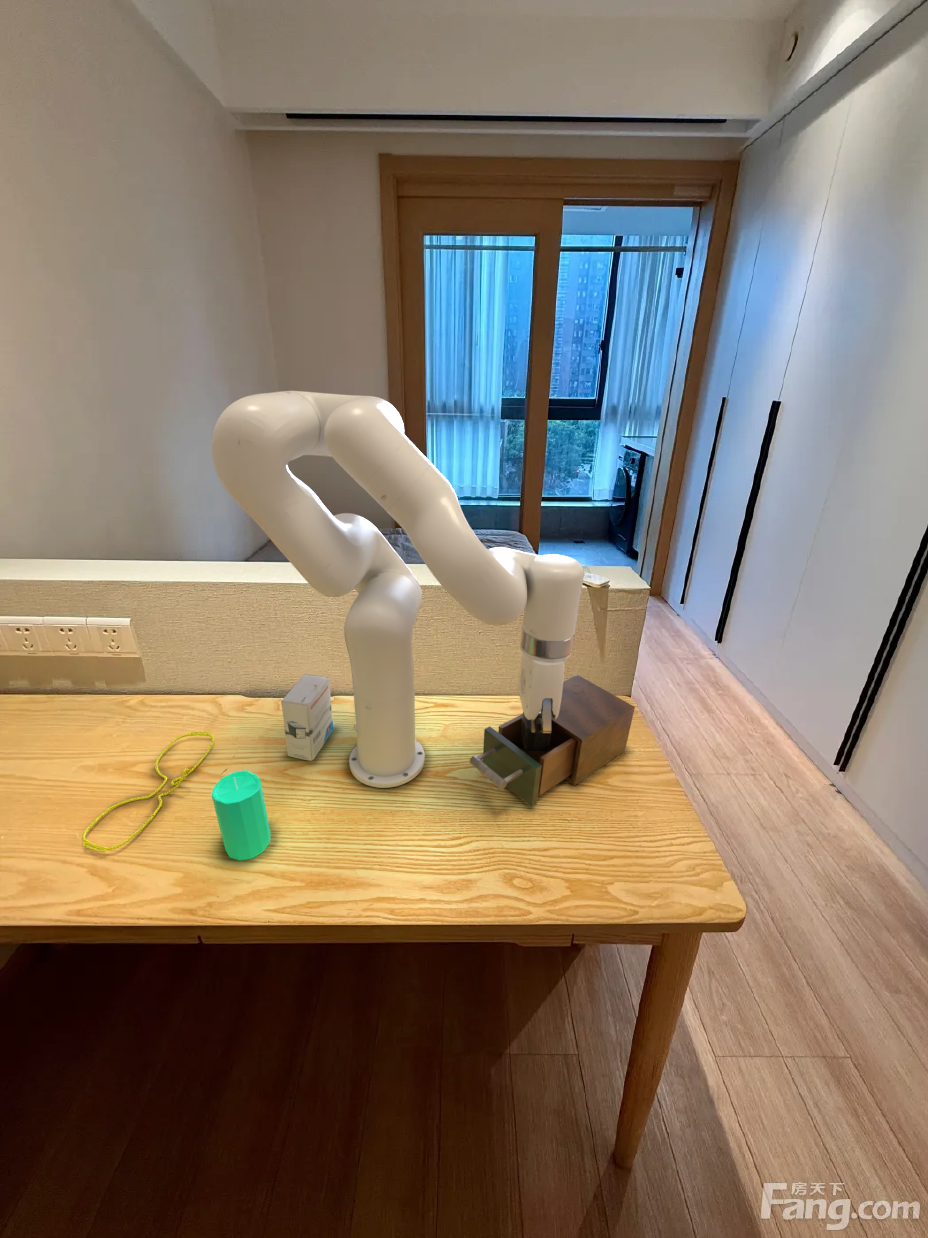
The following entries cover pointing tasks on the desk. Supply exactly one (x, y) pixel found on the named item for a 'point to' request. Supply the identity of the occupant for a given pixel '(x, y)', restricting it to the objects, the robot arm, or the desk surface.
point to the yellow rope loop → (148, 796)
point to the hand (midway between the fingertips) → (534, 738)
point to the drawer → (525, 760)
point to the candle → (242, 815)
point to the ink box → (307, 716)
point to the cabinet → (593, 725)
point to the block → (524, 729)
